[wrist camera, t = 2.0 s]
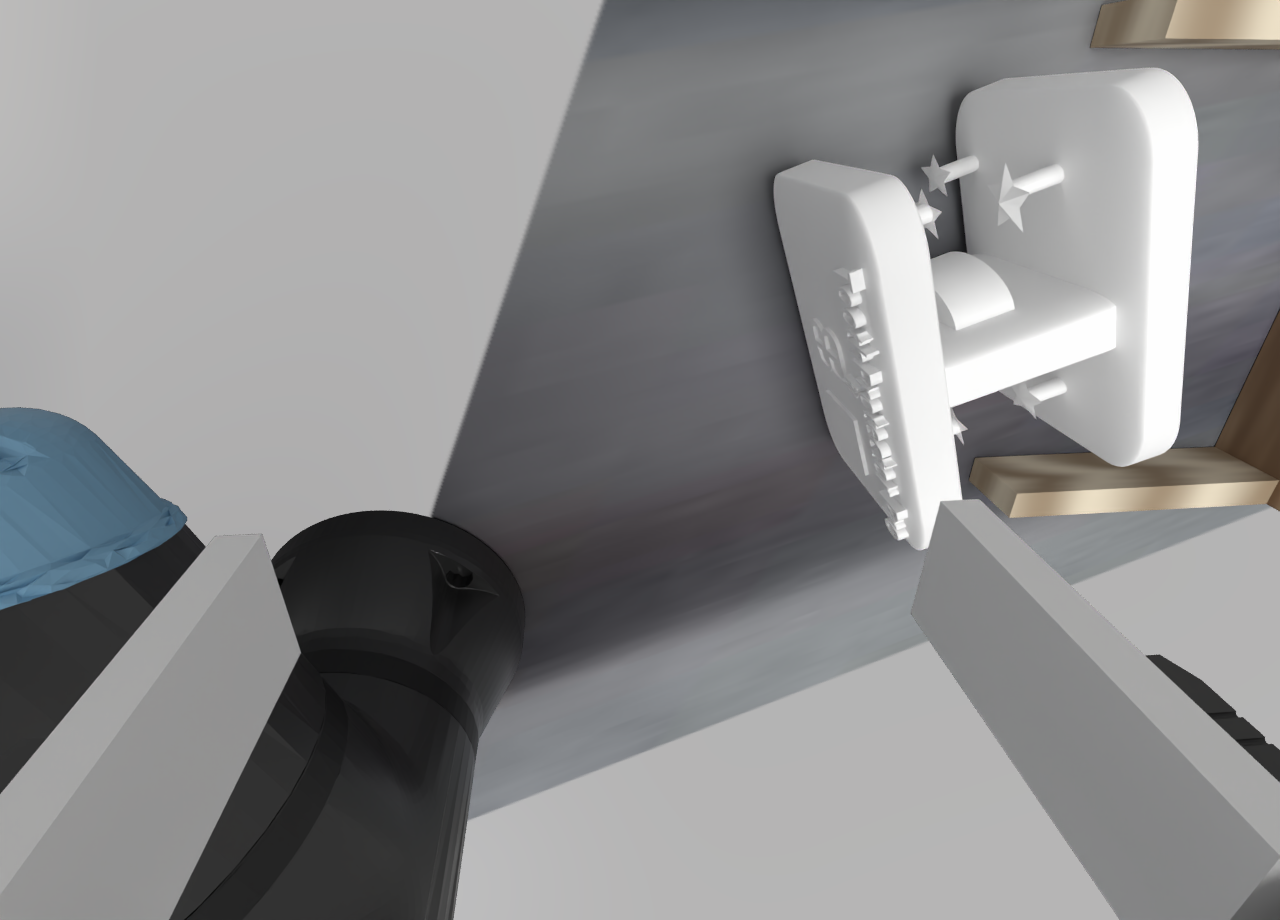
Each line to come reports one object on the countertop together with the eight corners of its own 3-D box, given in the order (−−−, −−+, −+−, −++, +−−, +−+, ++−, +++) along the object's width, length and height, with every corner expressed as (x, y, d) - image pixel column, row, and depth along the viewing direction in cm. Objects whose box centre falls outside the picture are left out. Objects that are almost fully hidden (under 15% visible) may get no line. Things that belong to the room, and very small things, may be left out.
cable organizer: (1005, 379, 35) (1182, 488, 25) (818, 446, 36) (916, 578, 26) (980, 77, 28) (1214, 58, 18) (748, 170, 29) (845, 203, 19)
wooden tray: (968, 480, 38) (1020, 528, 34) (1101, 5, 27) (1204, -16, 23) (1226, 467, 39) (1309, 512, 35) (1453, 10, 28) (1612, -8, 24)
